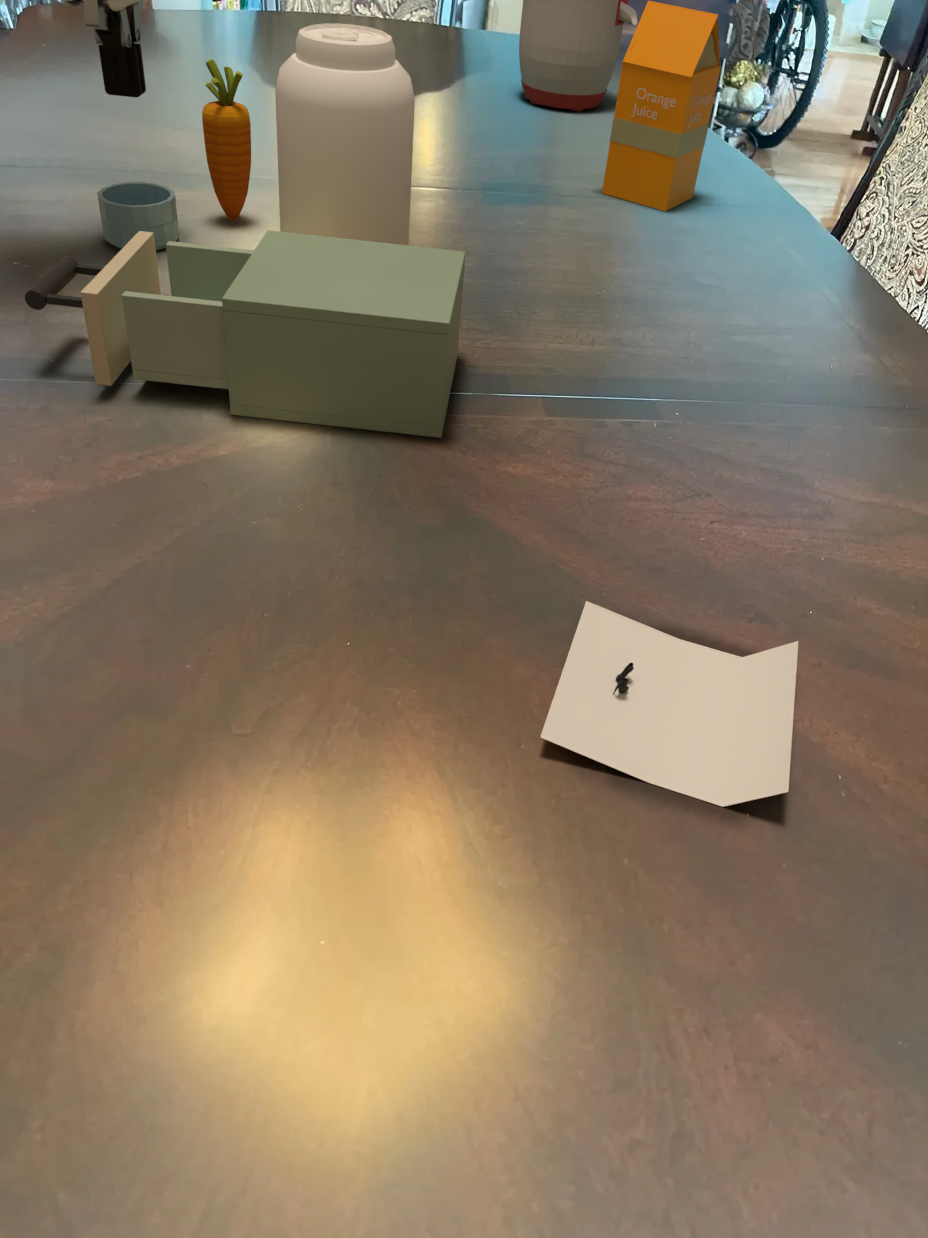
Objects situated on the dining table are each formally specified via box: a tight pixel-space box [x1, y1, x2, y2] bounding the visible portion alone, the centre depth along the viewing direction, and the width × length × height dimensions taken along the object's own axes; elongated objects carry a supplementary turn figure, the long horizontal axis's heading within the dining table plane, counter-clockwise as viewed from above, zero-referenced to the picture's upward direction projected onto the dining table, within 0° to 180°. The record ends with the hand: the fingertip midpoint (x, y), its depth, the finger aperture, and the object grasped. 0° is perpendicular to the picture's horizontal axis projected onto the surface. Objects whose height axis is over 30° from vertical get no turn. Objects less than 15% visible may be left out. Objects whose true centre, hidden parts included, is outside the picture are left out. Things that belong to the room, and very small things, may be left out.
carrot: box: [201, 59, 252, 223], centre depth 101 cm, size 5×5×15 cm
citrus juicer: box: [518, 0, 638, 112], centre depth 150 cm, size 16×17×20 cm
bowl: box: [96, 181, 180, 251], centre depth 99 cm, size 7×7×4 cm
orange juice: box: [601, 0, 722, 212], centre depth 118 cm, size 8×9×20 cm
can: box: [274, 22, 416, 245], centre depth 94 cm, size 12×12×20 cm
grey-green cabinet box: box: [222, 229, 466, 439], centre depth 78 cm, size 16×14×9 cm
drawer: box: [24, 231, 255, 390], centre depth 78 cm, size 20×13×7 cm, turn 85°
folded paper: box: [540, 600, 799, 808], centre depth 54 cm, size 12×12×2 cm
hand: (126, 93), depth 91 cm, fingers closed
